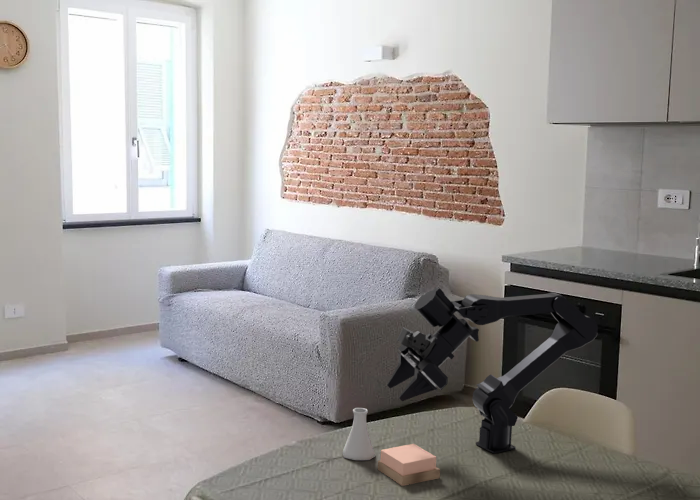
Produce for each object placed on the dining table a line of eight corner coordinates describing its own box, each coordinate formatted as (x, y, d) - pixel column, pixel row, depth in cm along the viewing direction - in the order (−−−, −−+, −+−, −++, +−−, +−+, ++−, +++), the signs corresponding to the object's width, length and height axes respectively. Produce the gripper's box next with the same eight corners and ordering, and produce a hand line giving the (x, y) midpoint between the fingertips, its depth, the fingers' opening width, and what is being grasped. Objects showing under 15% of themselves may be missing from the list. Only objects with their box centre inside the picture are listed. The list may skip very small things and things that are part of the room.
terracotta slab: (412, 455, 168) (413, 443, 168) (435, 468, 161) (436, 456, 161) (380, 461, 164) (380, 449, 164) (402, 476, 157) (403, 463, 157)
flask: (372, 463, 168) (374, 416, 167) (338, 459, 170) (340, 413, 168) (378, 451, 175) (379, 406, 174) (345, 447, 177) (347, 403, 176)
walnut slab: (414, 465, 170) (414, 453, 169) (439, 481, 162) (440, 469, 161) (377, 472, 165) (378, 460, 165) (401, 489, 157) (402, 476, 157)
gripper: (408, 307, 181) (358, 356, 180) (435, 325, 163) (380, 380, 162) (440, 340, 183) (391, 389, 182) (470, 362, 165) (416, 416, 164)
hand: (394, 393), depth 173 cm, fingers open, 9 cm apart
